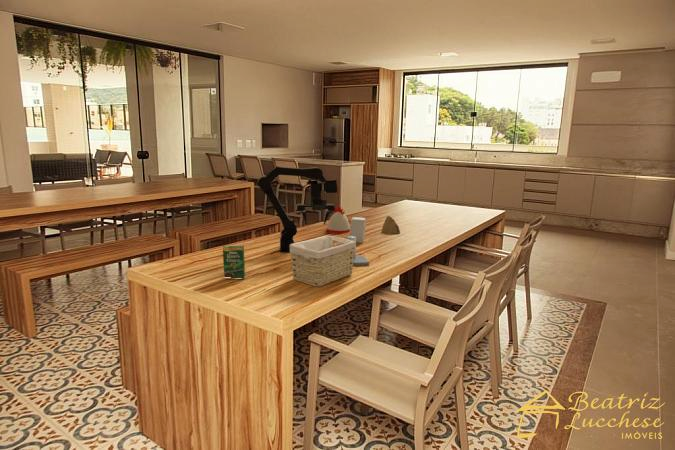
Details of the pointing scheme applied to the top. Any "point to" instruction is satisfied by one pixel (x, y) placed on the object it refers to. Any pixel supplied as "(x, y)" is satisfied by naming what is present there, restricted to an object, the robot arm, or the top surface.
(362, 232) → the supplement box
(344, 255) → the storage basket
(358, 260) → the shelf board
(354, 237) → the white dome-topped cylinder
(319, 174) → the robot arm
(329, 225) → the kitchen timer
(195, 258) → the top surface
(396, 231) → the rock
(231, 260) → the coffee box
